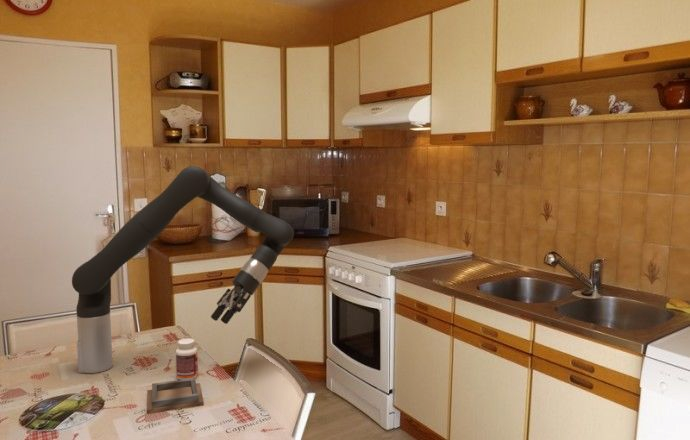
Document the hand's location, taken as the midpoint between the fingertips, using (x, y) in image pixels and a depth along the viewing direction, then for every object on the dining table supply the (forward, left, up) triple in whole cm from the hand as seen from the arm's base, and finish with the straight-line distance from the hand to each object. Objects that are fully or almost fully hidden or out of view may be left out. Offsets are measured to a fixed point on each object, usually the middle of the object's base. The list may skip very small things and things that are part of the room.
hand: (218, 320), depth 153 cm
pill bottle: (-9, +3, -17) cm, 20 cm away
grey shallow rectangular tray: (-13, -11, -17) cm, 24 cm away
